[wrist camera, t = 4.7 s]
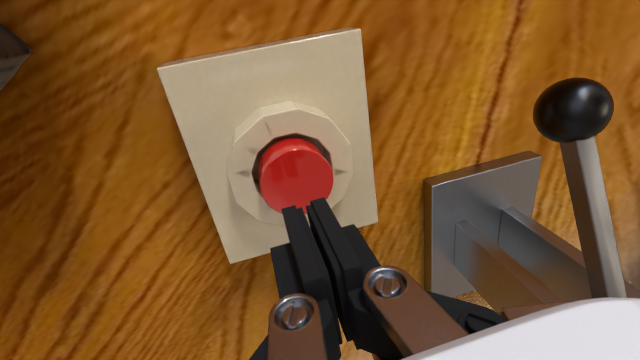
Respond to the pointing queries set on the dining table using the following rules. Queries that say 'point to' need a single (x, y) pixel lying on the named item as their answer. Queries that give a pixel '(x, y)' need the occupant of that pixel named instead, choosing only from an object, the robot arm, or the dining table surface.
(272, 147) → the button
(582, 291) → the bracket
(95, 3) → the dining table surface
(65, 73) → the dining table surface
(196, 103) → the button block
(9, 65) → the grey printed box
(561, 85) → the lever
